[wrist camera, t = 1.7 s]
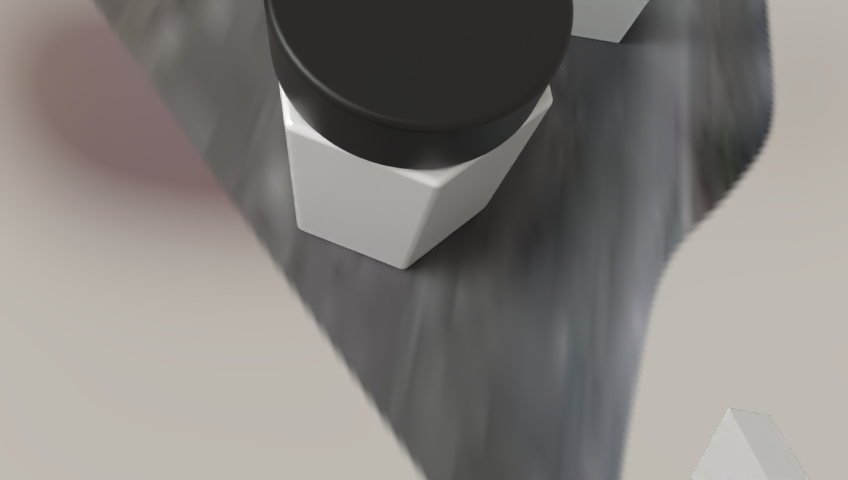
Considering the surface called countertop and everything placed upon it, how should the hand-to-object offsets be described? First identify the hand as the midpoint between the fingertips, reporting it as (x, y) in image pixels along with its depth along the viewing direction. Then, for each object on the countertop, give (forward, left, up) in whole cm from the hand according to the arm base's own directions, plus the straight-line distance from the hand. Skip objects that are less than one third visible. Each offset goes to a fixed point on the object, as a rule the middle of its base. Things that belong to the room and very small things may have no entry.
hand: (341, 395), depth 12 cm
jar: (-6, +9, -15) cm, 18 cm away
